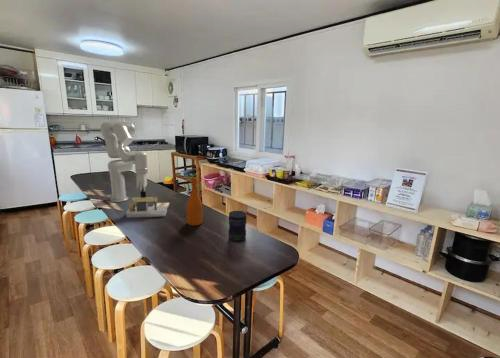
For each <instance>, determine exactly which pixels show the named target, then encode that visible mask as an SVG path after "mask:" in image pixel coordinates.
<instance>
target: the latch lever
mask: <svg viewBox="0 0 500 358" xmlns="http://www.w3.org/2000/svg"><path fill="white" fill-rule="evenodd" d="M156 201H157V202H158V197H157V196H146V197H141V196H139V197H132V203H137V202H148V203H149V202H150V203H152V202H153V203H154V202H156Z"/></svg>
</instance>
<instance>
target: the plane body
mask: <svg viewBox="0 0 500 358" xmlns="http://www.w3.org/2000/svg"><path fill="white" fill-rule="evenodd" d="M157 203H158V200H157V201H156V202H153V204H154V207H152V206H148V209H147V210H139V211H137V206H136V202H130V203H128V209H127V210H126V219H127V218H152V217H155V218H157V217H158V218H159V217H166V215H167V213H168V208H167V206H157Z"/></svg>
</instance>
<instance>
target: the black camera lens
mask: <svg viewBox="0 0 500 358" xmlns="http://www.w3.org/2000/svg"><path fill="white" fill-rule="evenodd" d="M246 227H247V212H245V211H242V210H232V211H229V213H228V241H229V242H230V243H233V242H234V244H240V243H244V242H245V241H247V240H246V239H247V238H246V237H247V228H246Z"/></svg>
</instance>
